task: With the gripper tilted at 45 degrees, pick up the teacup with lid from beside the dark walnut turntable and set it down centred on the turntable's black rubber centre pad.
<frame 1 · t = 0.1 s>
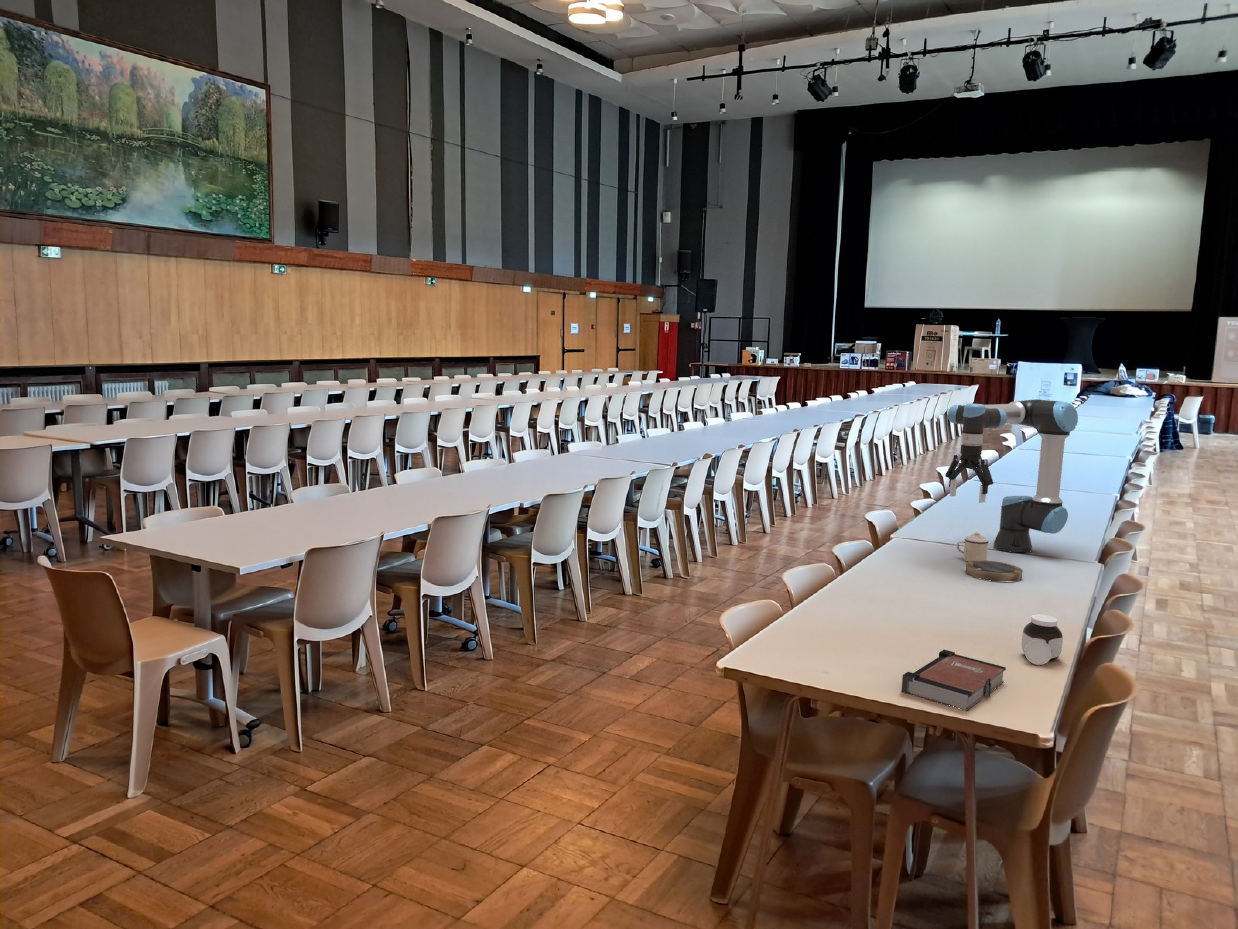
hand: (967, 499, 347), 28 cm above the table, tool pointing down, fingers open, 13 cm apart
book: (955, 689, 234), on the table
teacup with lid: (970, 560, 366), on the table
spread jar: (1040, 660, 256), on the table
turntable: (993, 570, 344), point 2 cm above the table, hinge at 0.0°
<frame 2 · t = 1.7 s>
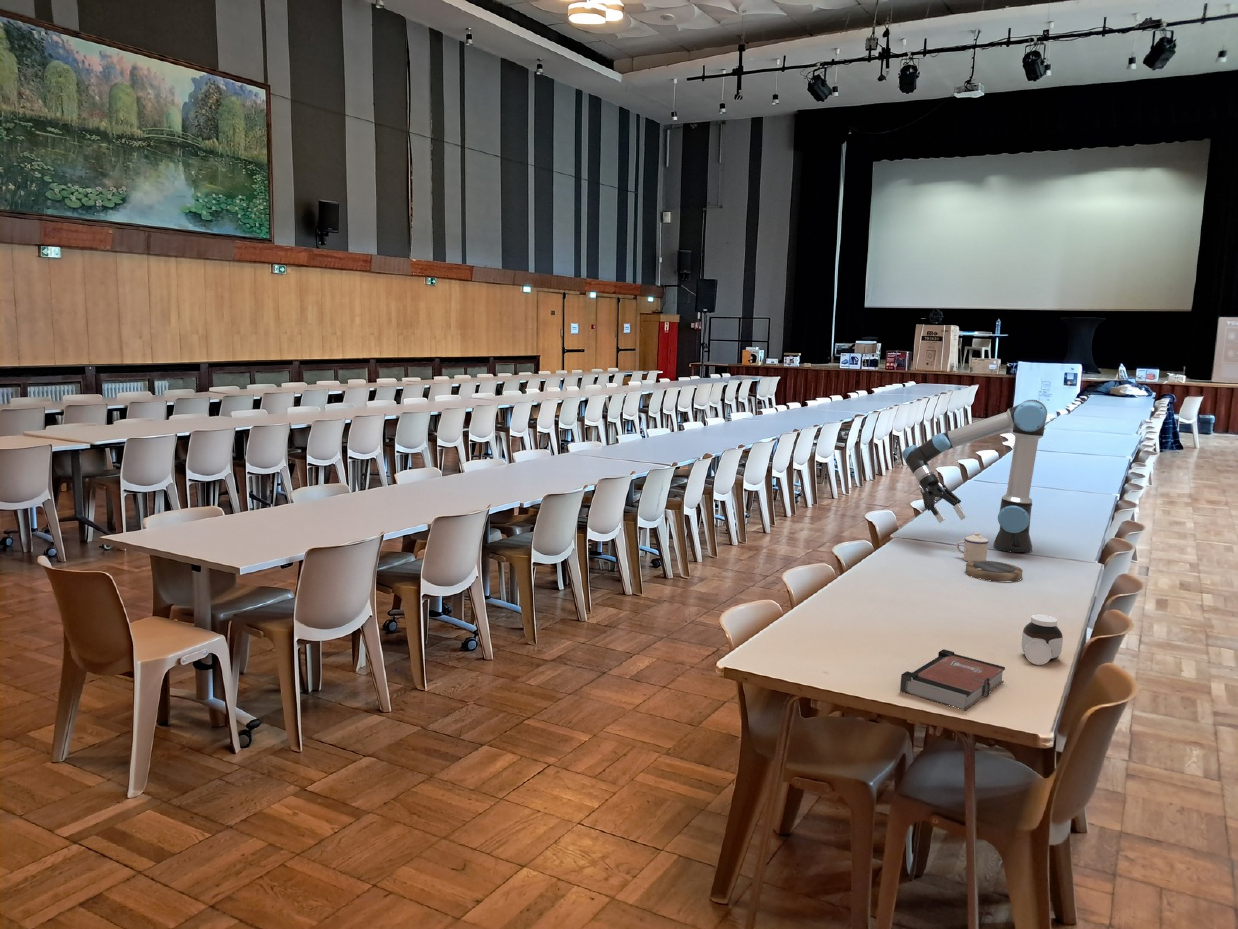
hand: (953, 519, 372), 15 cm above the table, tool tilted 45°, fingers open, 13 cm apart
nothing on the table moved.
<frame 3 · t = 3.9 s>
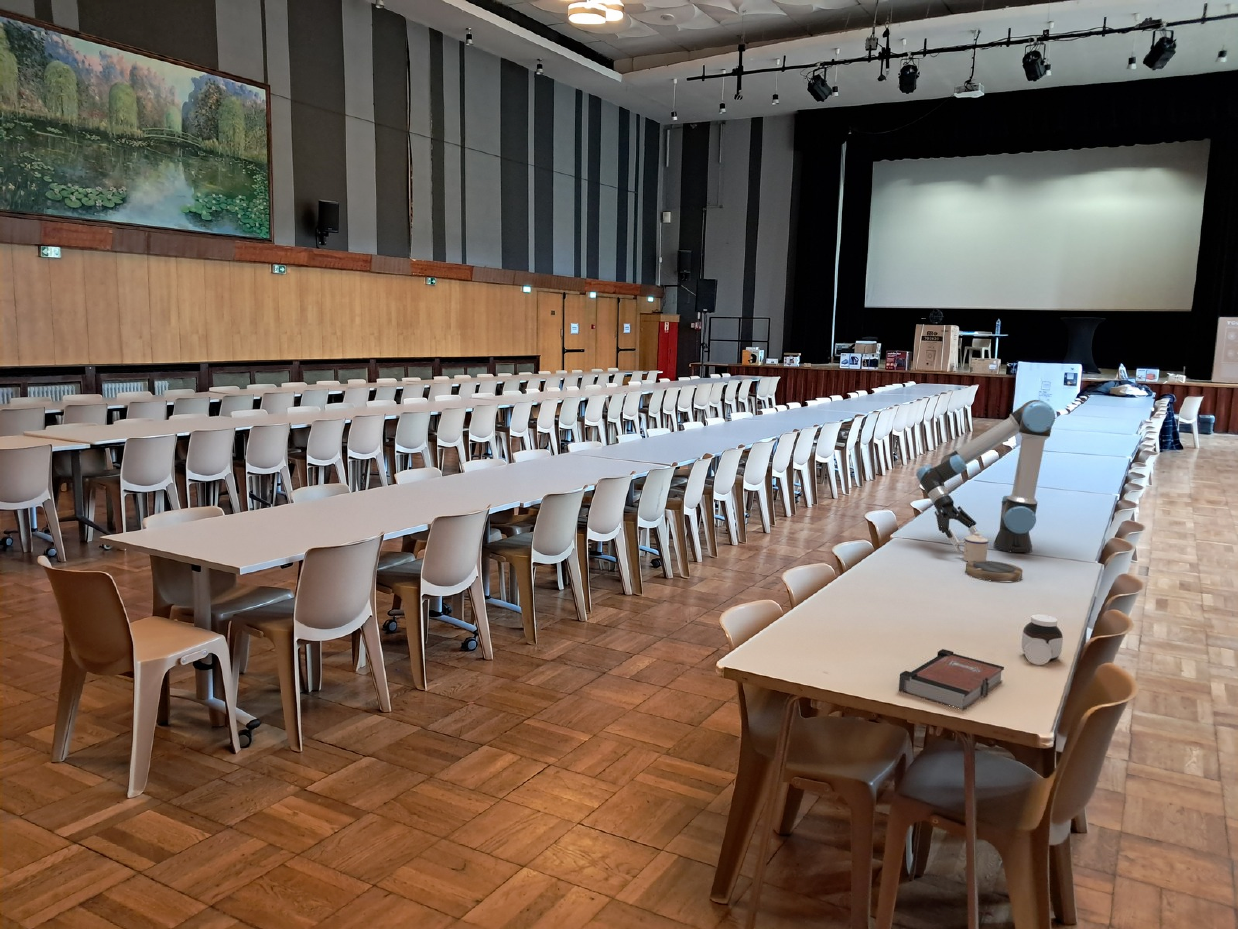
hand: (967, 542, 366), 7 cm above the table, tool tilted 45°, fingers open, 13 cm apart
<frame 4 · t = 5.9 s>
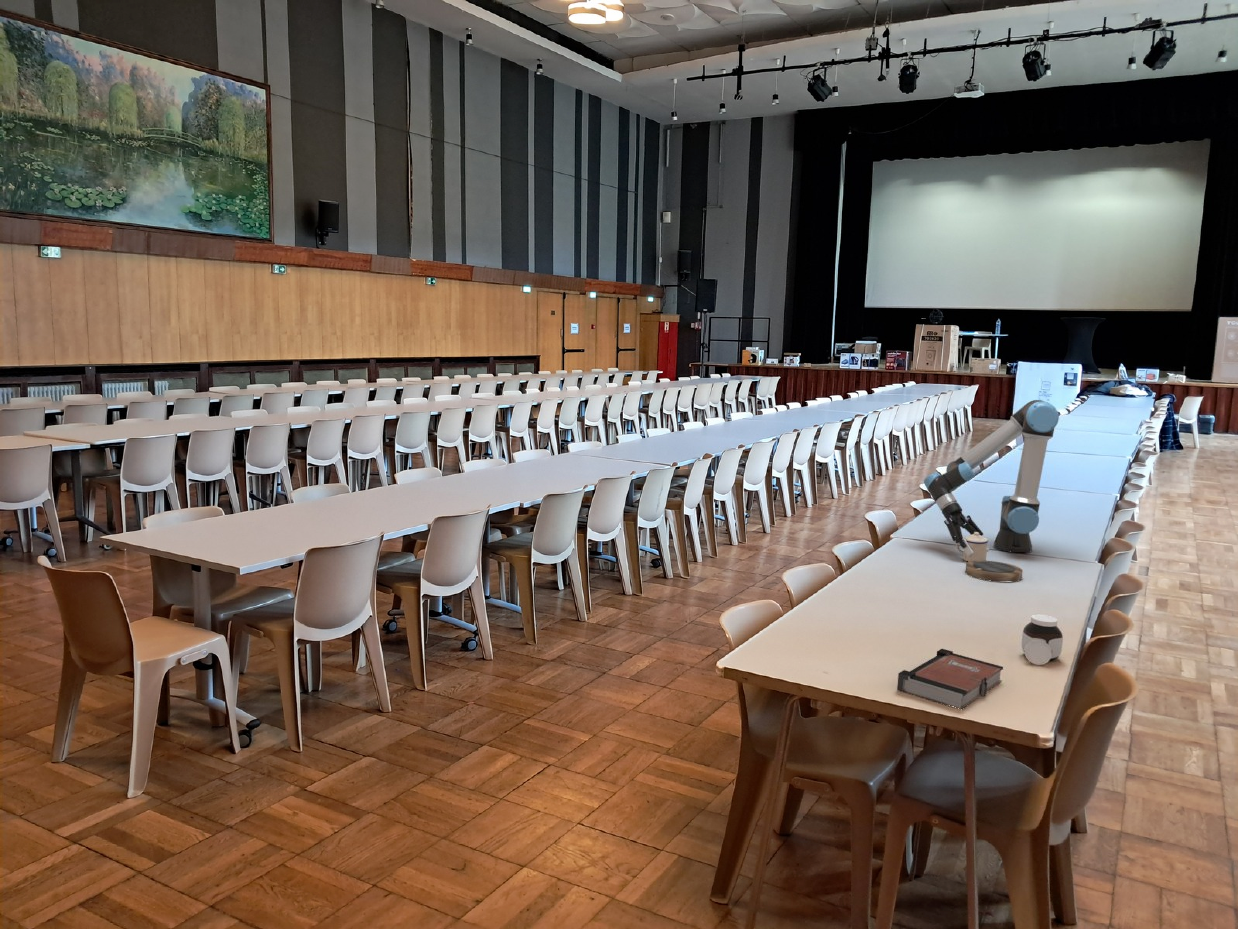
hand: (978, 553, 363), 4 cm above the table, tool tilted 45°, fingers closed on teacup with lid, 9 cm apart
teacup with lid: (970, 560, 366), on the table, touching gripper
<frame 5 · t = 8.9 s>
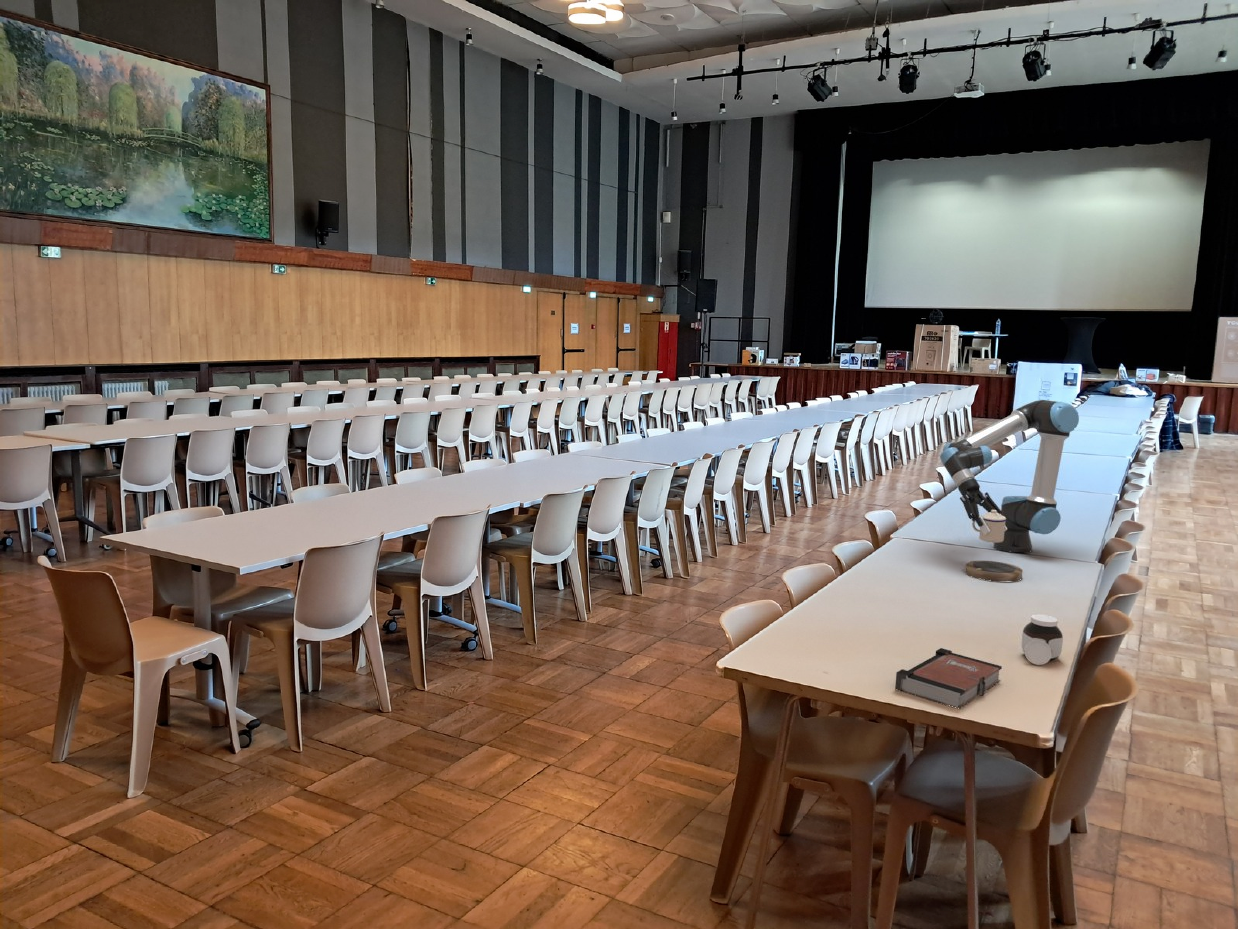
hand: (996, 532, 342), 17 cm above the table, tool tilted 45°, fingers closed on teacup with lid, 9 cm apart
teacup with lid: (987, 539, 345), point 13 cm above the table, touching gripper
when the fingers open (8 cm above the table, at t = 12.1 s): teacup with lid drops 1 cm, resting on turntable.
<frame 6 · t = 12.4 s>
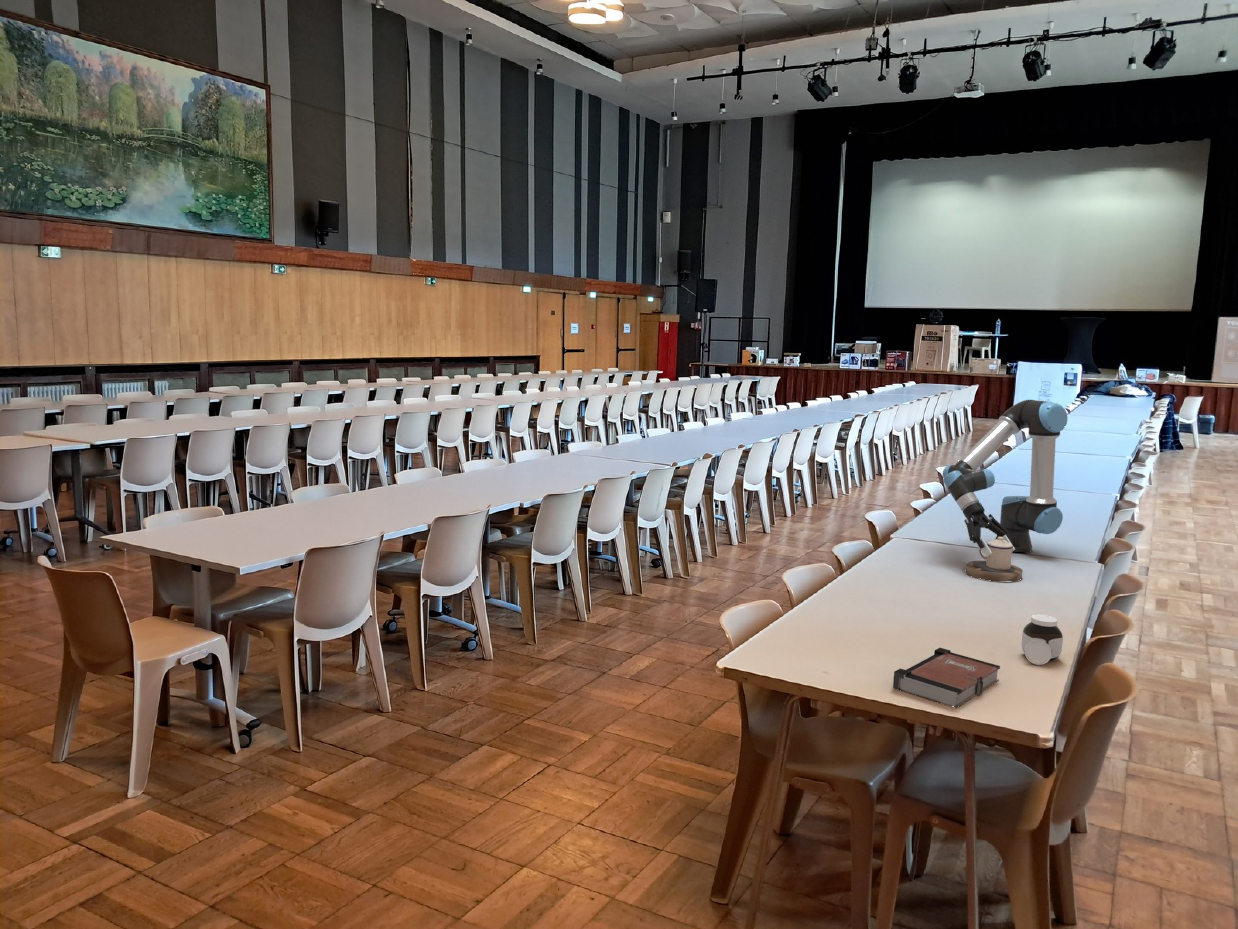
hand: (1000, 553, 341), 9 cm above the table, tool tilted 45°, fingers open, 13 cm apart
teacup with lid: (994, 566, 344), point 3 cm above the table, touching turntable
turntable: (993, 570, 344), point 2 cm above the table, hinge at 0.0°, touching teacup with lid
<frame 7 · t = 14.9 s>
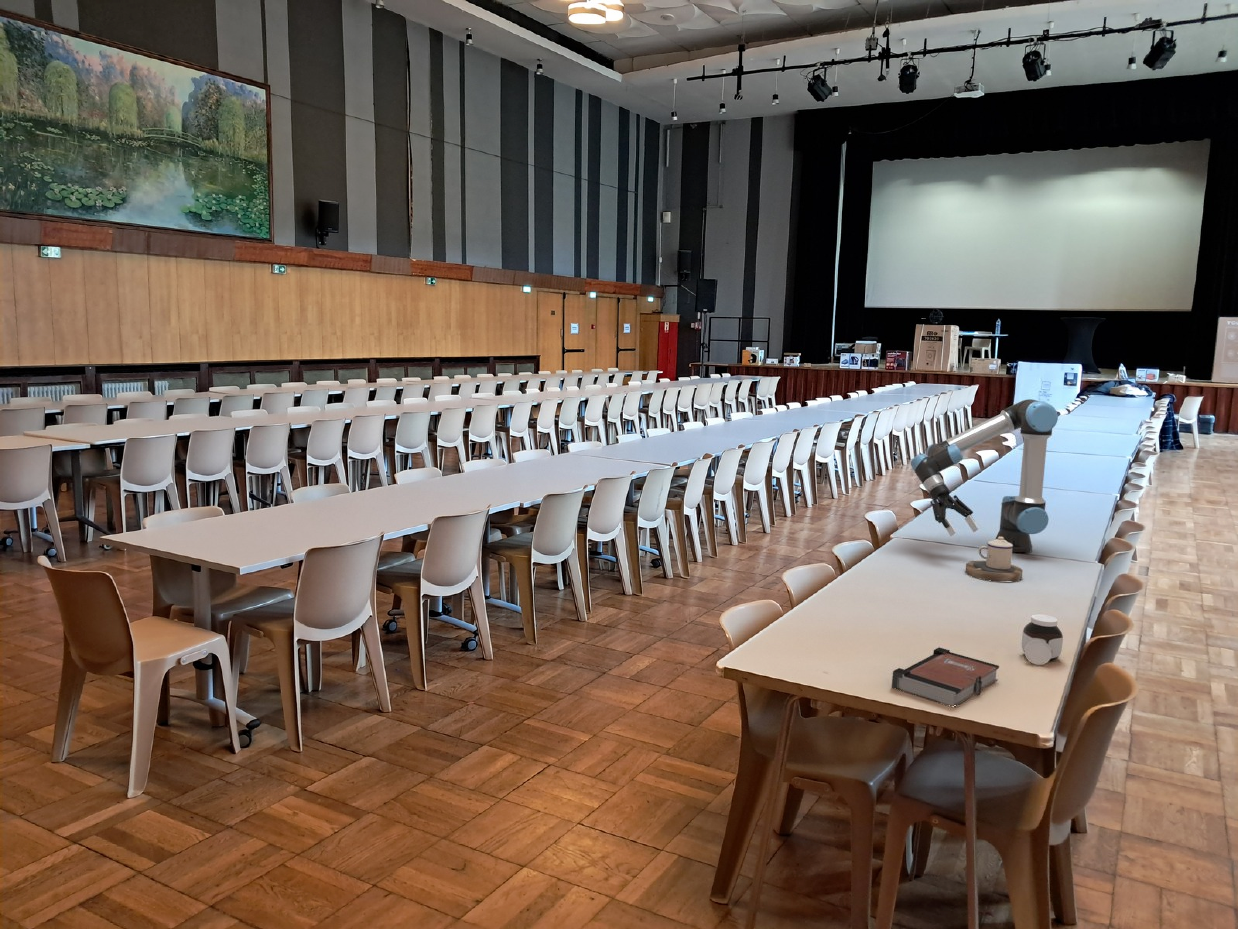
hand: (965, 532, 356), 13 cm above the table, tool tilted 45°, fingers open, 13 cm apart
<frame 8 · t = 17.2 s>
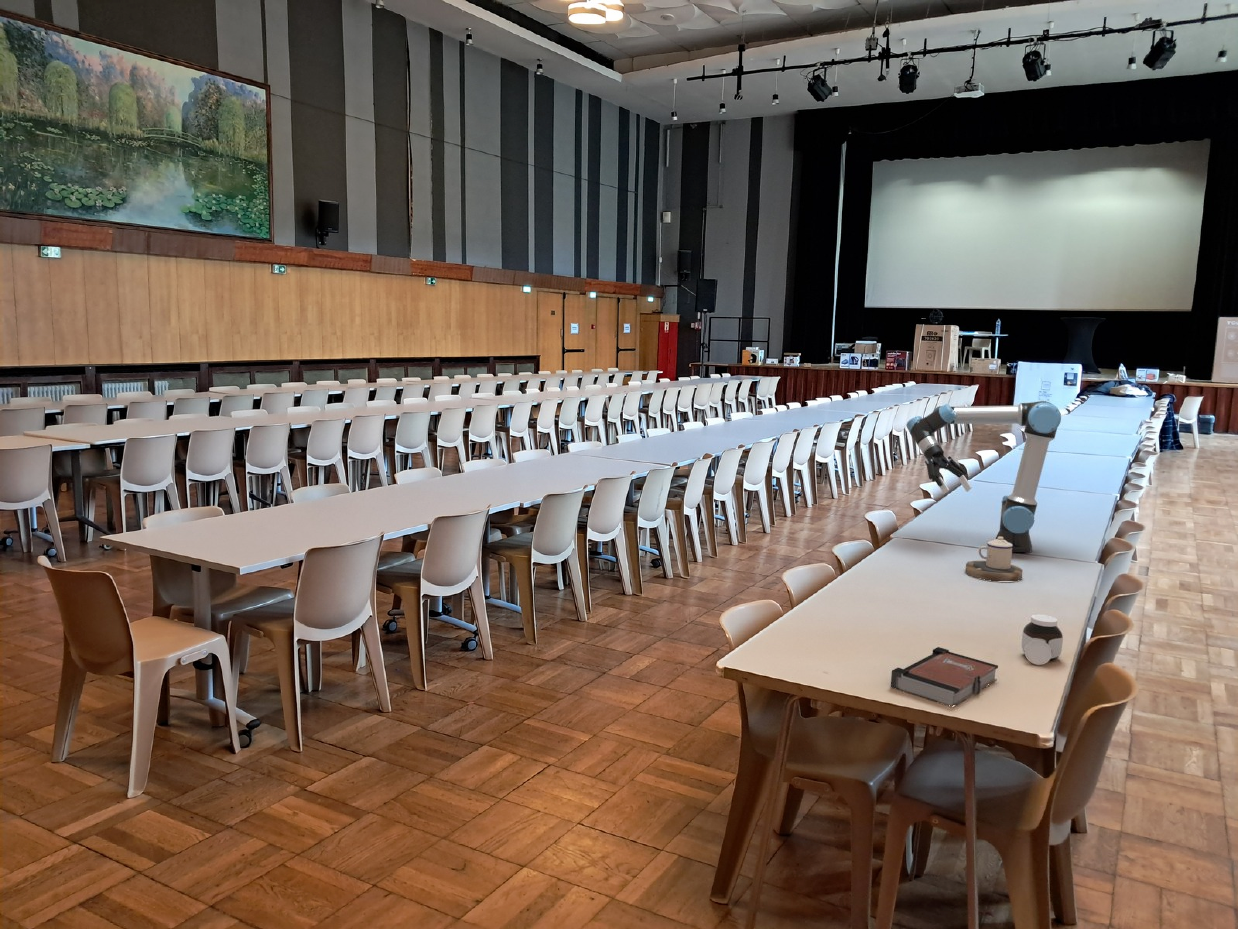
hand: (958, 490, 366), 28 cm above the table, tool tilted 45°, fingers open, 13 cm apart
at the end: teacup with lid 0.2 cm off-centre on the turntable, point 3.2 cm above the turntable's base; teacup with lid tilted 1°; the gripper is holding nothing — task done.
